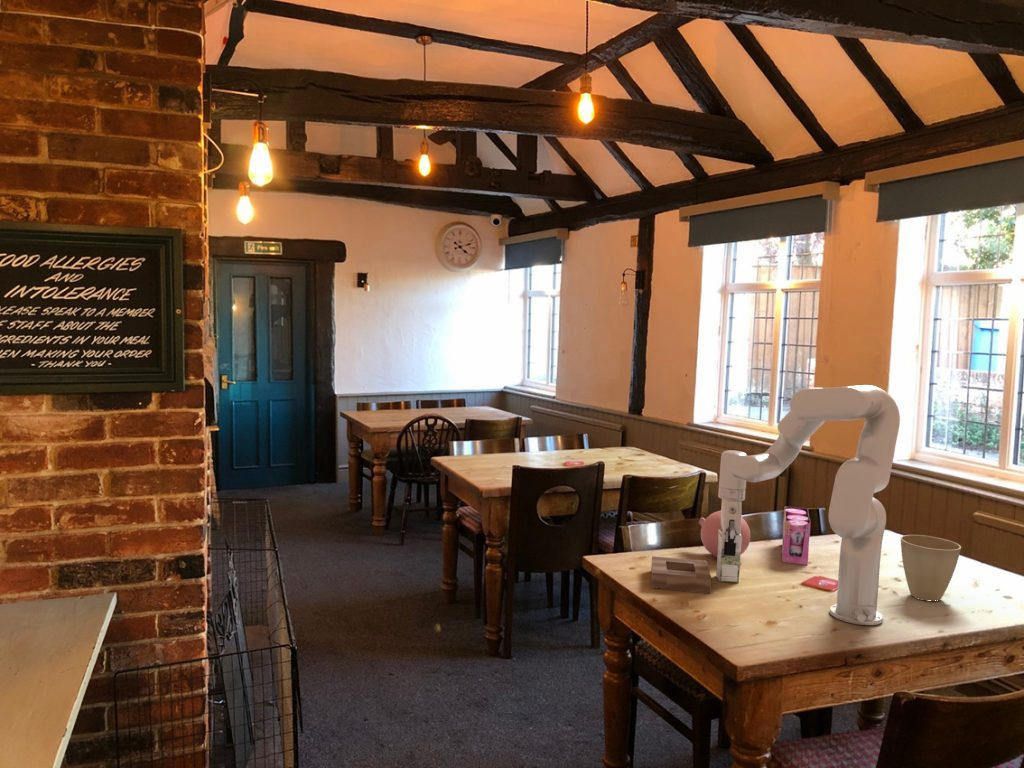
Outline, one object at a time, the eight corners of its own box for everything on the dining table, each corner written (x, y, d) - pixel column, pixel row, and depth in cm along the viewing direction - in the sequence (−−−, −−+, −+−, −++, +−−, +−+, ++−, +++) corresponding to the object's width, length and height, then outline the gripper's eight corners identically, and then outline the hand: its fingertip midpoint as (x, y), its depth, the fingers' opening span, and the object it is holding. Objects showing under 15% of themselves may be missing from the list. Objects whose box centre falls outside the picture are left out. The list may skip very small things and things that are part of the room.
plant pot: (925, 609, 206) (929, 550, 205) (884, 590, 221) (888, 535, 219) (969, 605, 210) (974, 548, 209) (927, 587, 225) (931, 533, 223)
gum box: (808, 567, 241) (811, 524, 240) (781, 563, 243) (784, 521, 242) (806, 547, 263) (808, 508, 262) (781, 544, 266) (784, 505, 265)
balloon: (720, 545, 261) (722, 501, 260) (759, 563, 243) (762, 515, 242) (681, 549, 256) (684, 503, 254) (719, 567, 237) (721, 518, 236)
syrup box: (735, 576, 228) (738, 529, 227) (739, 583, 222) (742, 534, 221) (715, 575, 229) (718, 527, 228) (719, 582, 223) (721, 533, 222)
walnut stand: (710, 593, 213) (711, 577, 212) (651, 588, 215) (652, 572, 215) (705, 575, 229) (706, 560, 228) (651, 570, 231) (652, 556, 231)
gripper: (749, 501, 215) (744, 560, 216) (741, 488, 232) (737, 543, 233) (721, 498, 216) (717, 558, 217) (715, 485, 233) (711, 541, 234)
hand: (727, 550), depth 225 cm, fingers open, 9 cm apart
